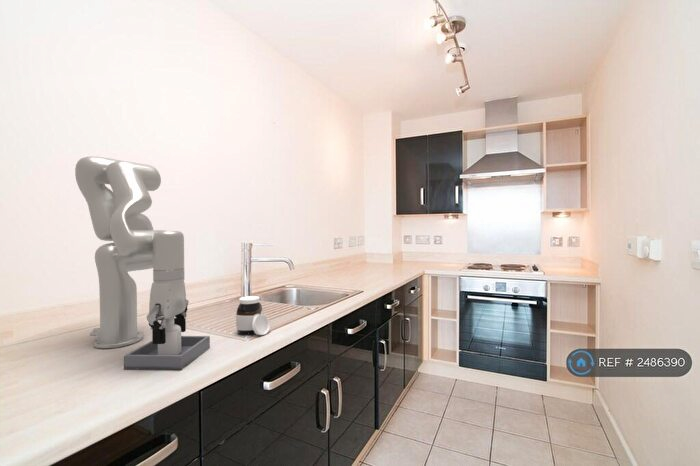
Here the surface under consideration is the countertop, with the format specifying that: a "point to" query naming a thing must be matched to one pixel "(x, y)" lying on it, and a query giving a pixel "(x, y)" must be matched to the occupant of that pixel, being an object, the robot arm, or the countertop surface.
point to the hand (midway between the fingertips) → (170, 337)
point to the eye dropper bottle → (171, 339)
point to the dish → (150, 359)
